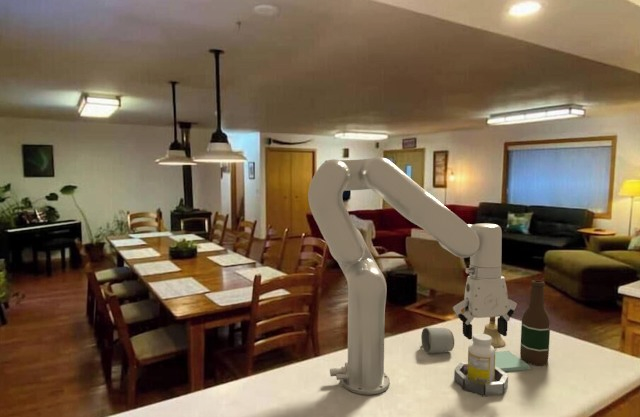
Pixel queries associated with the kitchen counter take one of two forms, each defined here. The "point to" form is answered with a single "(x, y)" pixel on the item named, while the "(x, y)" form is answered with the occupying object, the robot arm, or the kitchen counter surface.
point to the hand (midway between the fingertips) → (484, 335)
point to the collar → (478, 386)
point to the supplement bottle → (481, 358)
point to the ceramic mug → (437, 340)
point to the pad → (509, 362)
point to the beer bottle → (535, 328)
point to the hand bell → (494, 333)
